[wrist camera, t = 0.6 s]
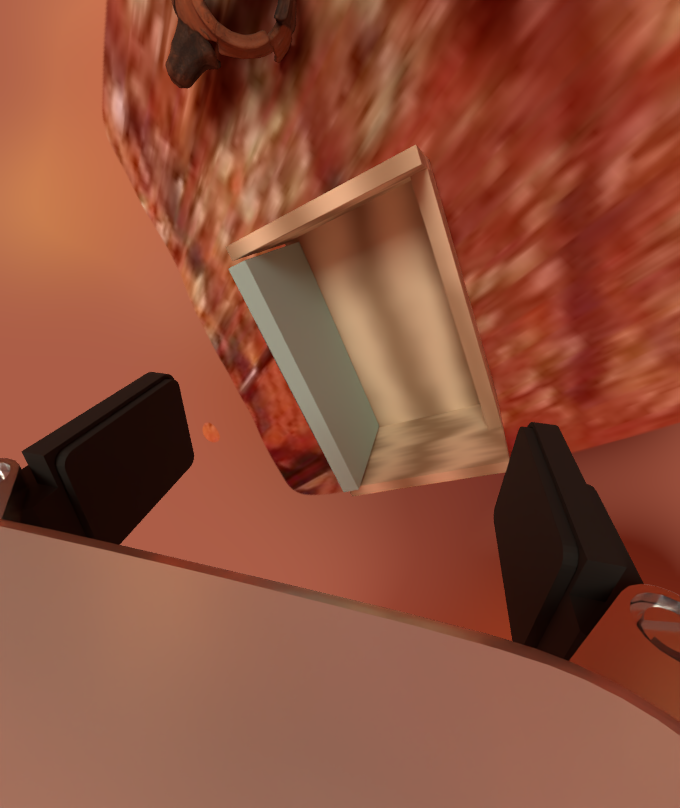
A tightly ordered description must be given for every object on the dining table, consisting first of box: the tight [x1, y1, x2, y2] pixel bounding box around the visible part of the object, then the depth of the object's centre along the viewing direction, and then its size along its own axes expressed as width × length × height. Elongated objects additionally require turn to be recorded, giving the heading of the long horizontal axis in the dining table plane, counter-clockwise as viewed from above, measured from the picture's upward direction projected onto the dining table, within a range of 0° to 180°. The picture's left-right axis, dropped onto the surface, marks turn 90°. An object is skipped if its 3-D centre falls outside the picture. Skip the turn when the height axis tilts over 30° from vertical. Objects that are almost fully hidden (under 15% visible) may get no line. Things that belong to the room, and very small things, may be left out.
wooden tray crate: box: [226, 145, 510, 496], centre depth 34 cm, size 14×23×13 cm, turn 24°
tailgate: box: [229, 242, 379, 492], centre depth 34 cm, size 2×21×11 cm, turn 24°
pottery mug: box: [166, 0, 296, 88], centre depth 29 cm, size 12×10×8 cm
